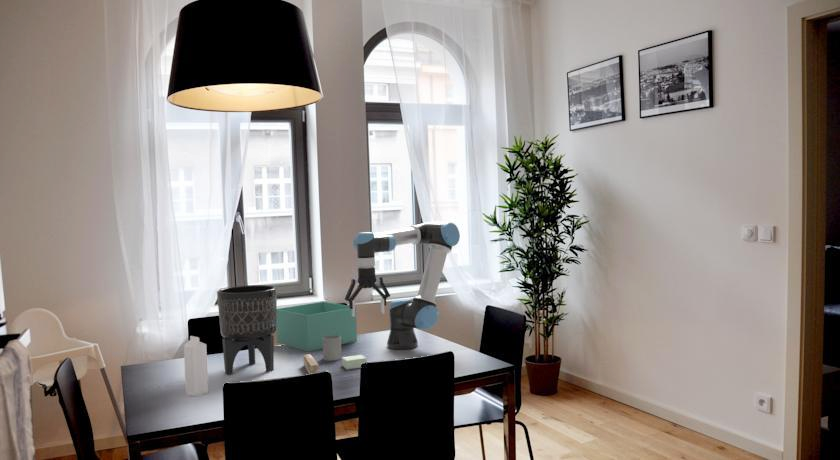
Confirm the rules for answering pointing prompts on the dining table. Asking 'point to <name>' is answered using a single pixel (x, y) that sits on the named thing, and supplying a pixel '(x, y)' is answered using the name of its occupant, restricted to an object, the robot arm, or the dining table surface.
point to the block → (353, 361)
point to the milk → (195, 367)
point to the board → (310, 364)
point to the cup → (331, 347)
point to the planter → (248, 322)
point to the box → (315, 324)
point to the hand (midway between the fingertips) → (368, 314)
